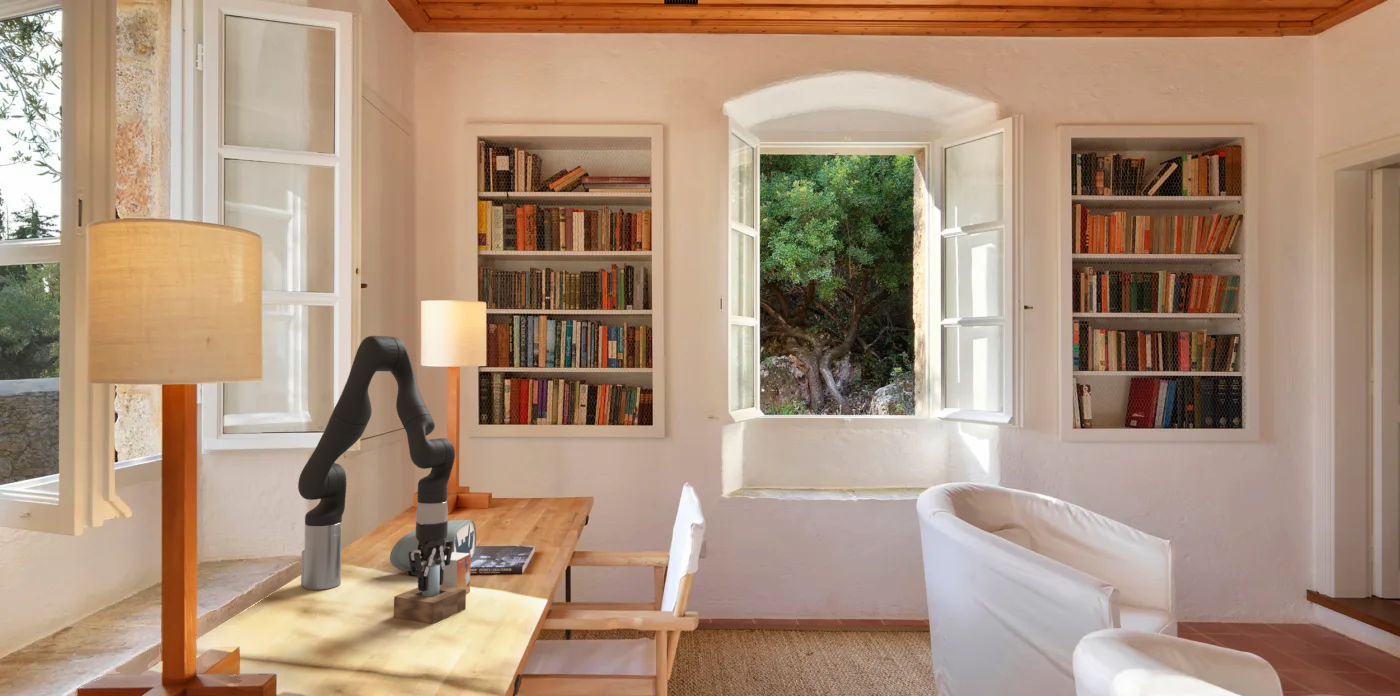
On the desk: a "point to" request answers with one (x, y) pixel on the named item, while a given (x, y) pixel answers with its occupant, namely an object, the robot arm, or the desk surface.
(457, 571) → the small box
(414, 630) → the desk surface
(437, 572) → the peg
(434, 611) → the socket block
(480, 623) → the desk surface
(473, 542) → the pencil case
